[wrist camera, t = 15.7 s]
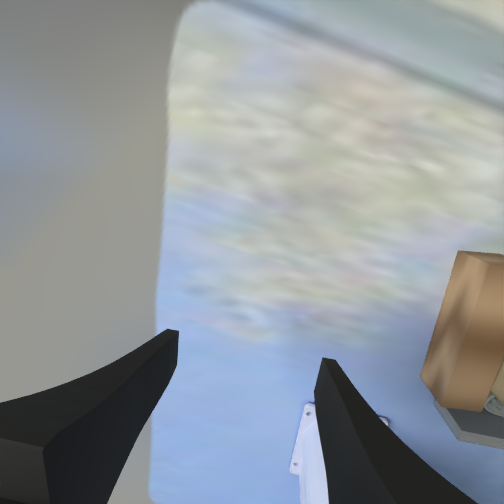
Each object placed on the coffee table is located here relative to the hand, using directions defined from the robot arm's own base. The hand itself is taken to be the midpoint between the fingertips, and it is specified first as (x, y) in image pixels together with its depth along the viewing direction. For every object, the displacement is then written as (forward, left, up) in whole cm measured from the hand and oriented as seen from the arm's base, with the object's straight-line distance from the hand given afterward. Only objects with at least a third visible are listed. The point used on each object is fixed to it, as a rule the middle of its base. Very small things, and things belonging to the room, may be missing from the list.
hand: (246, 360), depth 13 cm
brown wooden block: (-1, -17, -11) cm, 20 cm away
